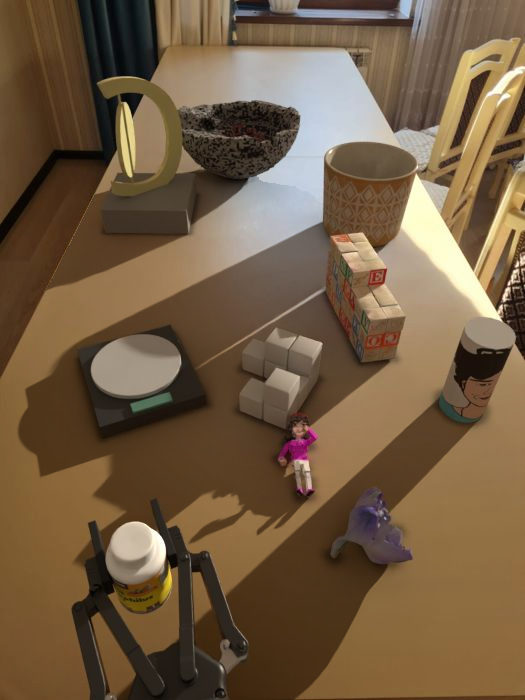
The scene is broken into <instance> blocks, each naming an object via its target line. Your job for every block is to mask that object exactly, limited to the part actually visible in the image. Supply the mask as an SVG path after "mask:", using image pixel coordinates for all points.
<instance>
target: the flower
mask: <svg viewBox="0 0 525 700" xmlns="http://www.w3.org/2000/svg"><path fill="white" fill-rule="evenodd" d="M383 496H384V492H382V491H381V488H377V486H373V487H371V488H369V489H366V490H365V491H364V492H363V493H362V494H361V496H360V497H359V499H358V500H357V501H356V503H355V506H354V507H353V508H352V510H351V511H350V512H349V519H348V524H347V530H346V532H345V535H341V536H339V537H337V538H336V539H335V540H334V541H333V543H332V545H331V549H330V552H329V555H330V556H331V557H332V558H333V559H337V557H338V555H339V553H340V552H341V551H343V550H344V549H345V548H346V546H347V545H348V544H349V543H351V542H352V543H355V544H357V545H360V546H361V547H362V549H363V550H364V552H365V555H366V556H367V558H368V559H369V560H370V561H371V562H373V563H374V564H378V565H379V564H380V565H387V564H390V563H395V564H396V563H397V564H400V563H405V562H409V561H412V560H413V559H414V557H413V552H412V548H411V547H408V548H407V549H406V547H405V546H404V545H403V546H402V540H403V534H404V533H403V530H401V529H400V528H398V526H397V525H394V526H393V525H392V524H389V523H390V522H391V521H392V519H393V516H392V515H390V514H389V511H388V509H387V508H386V505H387V503H388V502H387V501H386V500H382V499H383Z"/></svg>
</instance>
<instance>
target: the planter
mask: <svg viewBox="0 0 525 700" xmlns="http://www.w3.org/2000/svg"><path fill="white" fill-rule="evenodd" d="M418 168H419V162H418V159H417V158H416V157H415V155H413V154H412V153H411V152H409V151H408V150H406V149H403V148H401V147H398V146H395V145H392V144H388V143H385V142H384V143H383V142H377V141H351V142H344V143H340V144H338V145H335V146H333V147H330V148H329V149H328V150H327V151H326V152H325V154H324V156H323V191H322V193H323V196H322V199H323V200H322V201H323V202H322V226H323V228H324V231H325V232H326V233H327V234H328V236H329V237H330V236H335V235H343V234H346V235H347V234H353V233H363V234H364V235H365V237H366V238H367V240H368V242H369V243H370V245H371V246H372V248H375V247H380V246H384V245H387V244H389V243H390V242H391V241H393V240H394V239H395V238H396V237H397V236H398V234H399V233H400V230H401V227H402V223H403V221H404V217H405V213H406V210H407V206H408V202H409V199H410V196H411V194H412V193H411V192H412V189H413V186H414V182H415V179H416V175H417V171H418Z"/></svg>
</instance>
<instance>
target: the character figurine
mask: <svg viewBox="0 0 525 700" xmlns="http://www.w3.org/2000/svg"><path fill="white" fill-rule="evenodd" d="M318 438H319V436H318V435H317V434H316V433H315V432H314V430H313V429H312V428H311V427H310V420H309V416H308V415H307V414H306V413H303V412H300V413H299V412H297V413H296V414H293V415H292V416H290V421H289V424H288V426H287V429H286V435H285V434H284V436H283V440H284V442H285V443H284V446H283V447H282V450H281V452H280V453H279V455H278V457H277V461H278V463H279V464H280V467H284V466H285V467H286V466H287V463H288V461H287V458H285V456H286V455H287V452H288V451H289V454H290V455H291V456H290V460H289V465H291V467H292V468H294V473H295V480H296V486H297V488H296V489H295V493H296V494H297V495H298V497H303V496H304V491H303V486H302V479H301V475H302V476H303V477H304V486H305V495H306V497H309V498H310V497H312V496H313V495H314V493H315V491H316V490H315V488H312V487H313V486H312V475H311V468H310V462H309V458H308V455H307V454H308V452H309V447H310V446H311V445H312V444H313V443H314V442H316V441H317V440H318Z"/></svg>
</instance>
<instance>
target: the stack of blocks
mask: <svg viewBox="0 0 525 700" xmlns="http://www.w3.org/2000/svg"><path fill="white" fill-rule="evenodd" d="M387 271H388V267H387V266H386V264H385V263H384V261H383V260H382V259H381V258H380V257H379V255H378V254H377V252H376V251H375V249H374V247H372V246H371V245H370V243H369V242H368V240H367V238H366V237H365V235H364V234H363V233H353V234H347V235H346V234H343V235H335V236H330V235H329V245H328V255H327V270H326V278H325V293H326V295H327V297H328V299H329V302H330V303H331V306H332V308H333V310H334V313H335V314H336V317H337V318H338V319H339V321H340V323H341V325H342V327H343V329H344V330H345V333H346V335H347V336H348V338H349V341H350V343H351V346H352V347H353V350H354V351H355V354H356V355H357V357H358V360H359V361H360V363H369V362H374V361H384V360H391V359H395V358H396V355H397V351H398V345H399V344H400V340H401V336H402V335H401V334H402V331H403V329H404V325H405V321H406V316H407V315H406V313H405V312H404V310H403V309H402V308H401V306H400V304H399V303H398V302H397V300H396V298H395V297H394V295H393V294H392V292H391V291H390V289H389V288H388V286H387V285H386V284H385V282H386V278H387Z"/></svg>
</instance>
